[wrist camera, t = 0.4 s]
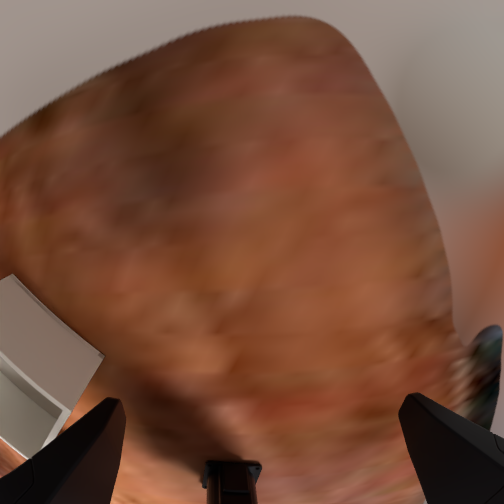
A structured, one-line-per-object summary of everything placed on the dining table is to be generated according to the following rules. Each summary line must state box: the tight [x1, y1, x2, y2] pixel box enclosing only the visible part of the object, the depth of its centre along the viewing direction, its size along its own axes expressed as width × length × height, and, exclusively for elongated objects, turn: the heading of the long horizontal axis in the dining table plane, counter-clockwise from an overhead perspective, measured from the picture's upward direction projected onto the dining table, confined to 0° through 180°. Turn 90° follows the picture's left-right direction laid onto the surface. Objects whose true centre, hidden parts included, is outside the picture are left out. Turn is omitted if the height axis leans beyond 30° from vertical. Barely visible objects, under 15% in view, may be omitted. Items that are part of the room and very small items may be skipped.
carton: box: [0, 274, 105, 460], centre depth 19 cm, size 12×14×8 cm
